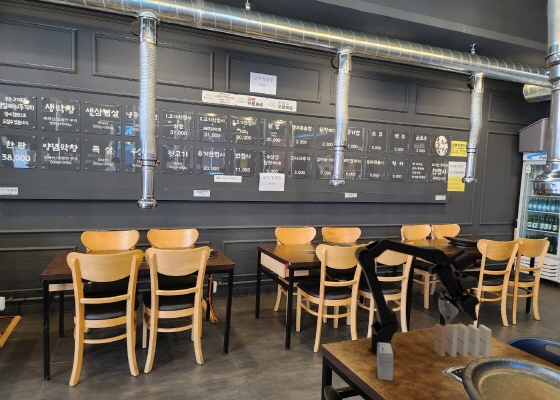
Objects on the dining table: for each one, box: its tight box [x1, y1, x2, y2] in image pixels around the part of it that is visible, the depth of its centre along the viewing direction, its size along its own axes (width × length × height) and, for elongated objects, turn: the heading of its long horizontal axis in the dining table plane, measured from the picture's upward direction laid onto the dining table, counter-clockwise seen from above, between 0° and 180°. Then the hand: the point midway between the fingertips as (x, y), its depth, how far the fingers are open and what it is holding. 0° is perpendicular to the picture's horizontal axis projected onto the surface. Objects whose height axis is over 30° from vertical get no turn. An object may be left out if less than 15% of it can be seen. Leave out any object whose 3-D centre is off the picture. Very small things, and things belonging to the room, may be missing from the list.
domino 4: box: [467, 324, 480, 358], centre depth 131 cm, size 2×5×10 cm, turn 3°
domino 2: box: [445, 323, 458, 358], centre depth 130 cm, size 2×5×10 cm, turn 3°
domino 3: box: [456, 323, 469, 358], centre depth 130 cm, size 2×5×10 cm, turn 3°
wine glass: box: [438, 295, 460, 324], centre depth 147 cm, size 8×8×15 cm
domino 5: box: [478, 324, 493, 357], centre depth 131 cm, size 2×5×10 cm, turn 3°
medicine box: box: [375, 342, 394, 382], centre depth 114 cm, size 8×4×9 cm, turn 168°
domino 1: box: [433, 323, 447, 357], centre depth 130 cm, size 2×5×10 cm, turn 3°
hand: (469, 315), depth 128 cm, fingers open, 9 cm apart
